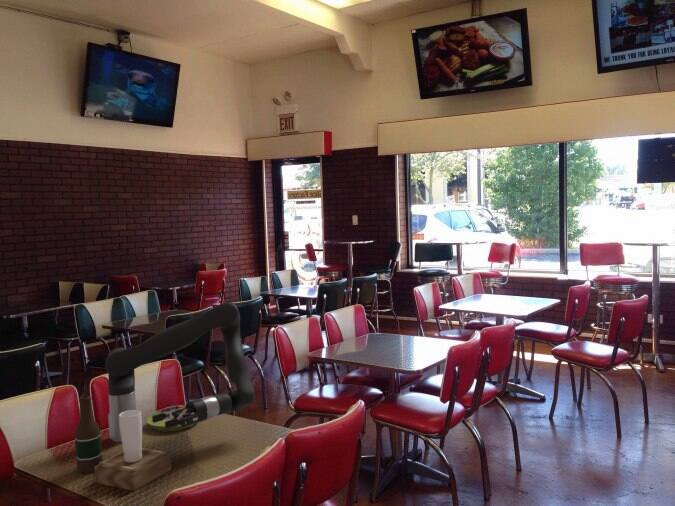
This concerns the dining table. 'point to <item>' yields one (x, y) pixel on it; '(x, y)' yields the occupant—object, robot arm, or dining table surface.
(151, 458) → the wooden box
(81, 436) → the beer bottle
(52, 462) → the dining table surface
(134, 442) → the drinking glass
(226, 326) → the robot arm
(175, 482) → the dining table surface
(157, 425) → the saucer
